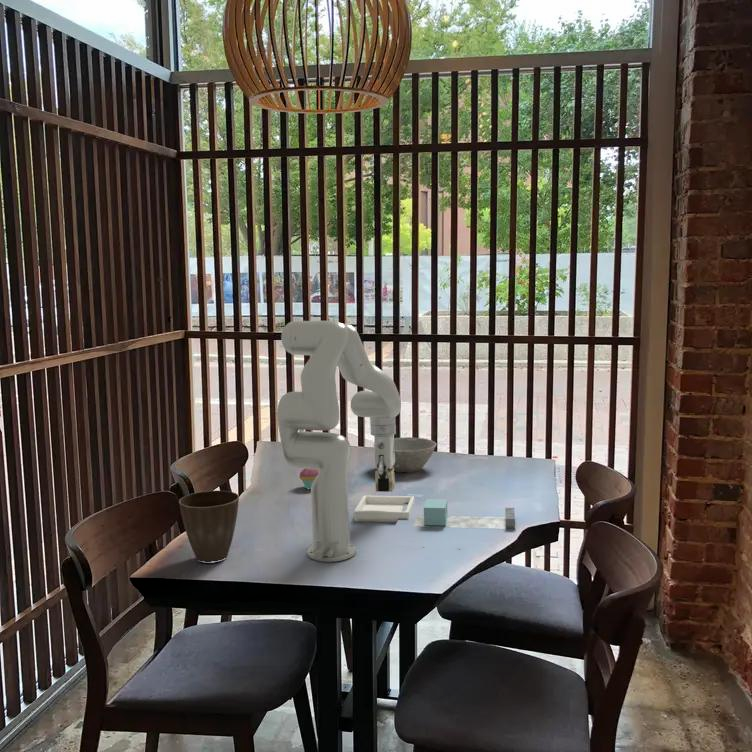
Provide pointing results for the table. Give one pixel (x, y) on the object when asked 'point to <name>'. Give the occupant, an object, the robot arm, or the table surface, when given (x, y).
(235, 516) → the plant pot
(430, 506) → the teal block
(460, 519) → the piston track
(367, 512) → the tray
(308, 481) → the cupcake
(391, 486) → the wooden block
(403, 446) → the ceramic bowl
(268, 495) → the table surface
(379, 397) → the robot arm
